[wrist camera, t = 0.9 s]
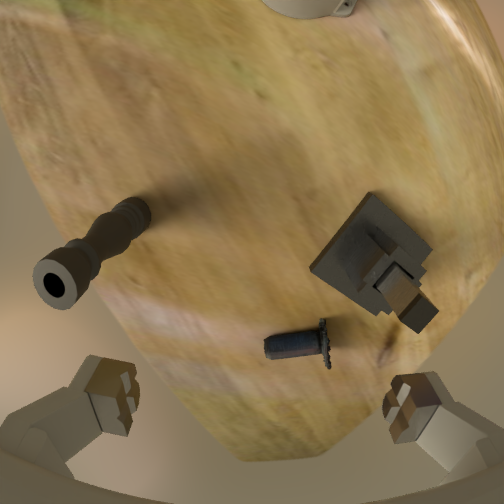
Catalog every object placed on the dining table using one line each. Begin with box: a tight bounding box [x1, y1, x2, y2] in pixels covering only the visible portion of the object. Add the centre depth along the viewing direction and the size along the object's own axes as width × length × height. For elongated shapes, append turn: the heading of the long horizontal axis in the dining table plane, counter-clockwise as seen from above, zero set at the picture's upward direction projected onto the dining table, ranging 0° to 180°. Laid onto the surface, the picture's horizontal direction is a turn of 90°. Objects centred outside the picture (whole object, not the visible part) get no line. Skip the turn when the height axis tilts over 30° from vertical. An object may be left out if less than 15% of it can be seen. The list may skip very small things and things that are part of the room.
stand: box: [309, 192, 433, 316], centre depth 48 cm, size 16×16×10 cm
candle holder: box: [33, 197, 151, 310], centre depth 39 cm, size 6×6×25 cm
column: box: [375, 261, 439, 334], centre depth 43 cm, size 4×4×17 cm
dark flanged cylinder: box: [264, 319, 331, 369], centre depth 57 cm, size 9×8×12 cm
